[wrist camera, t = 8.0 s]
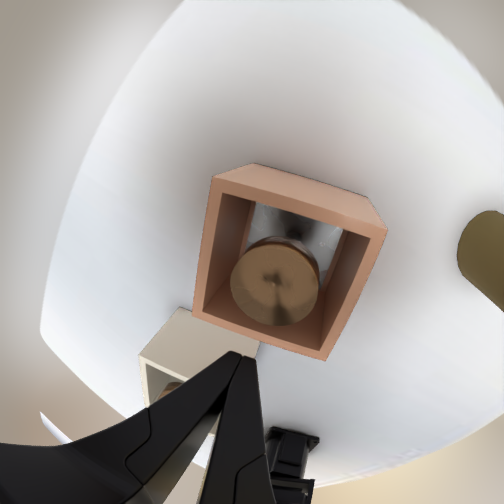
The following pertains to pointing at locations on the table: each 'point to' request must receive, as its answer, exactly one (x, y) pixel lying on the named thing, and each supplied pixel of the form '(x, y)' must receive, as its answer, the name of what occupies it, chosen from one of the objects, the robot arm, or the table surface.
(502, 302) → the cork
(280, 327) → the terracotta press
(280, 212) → the brown and grey plunger
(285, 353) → the table surface
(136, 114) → the table surface
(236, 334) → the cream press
